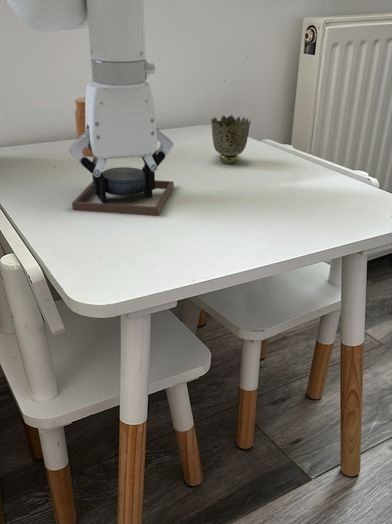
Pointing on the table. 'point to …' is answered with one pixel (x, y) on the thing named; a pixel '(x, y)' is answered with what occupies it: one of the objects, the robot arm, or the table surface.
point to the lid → (125, 181)
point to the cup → (230, 137)
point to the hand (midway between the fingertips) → (124, 196)
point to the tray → (125, 209)
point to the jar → (81, 122)
